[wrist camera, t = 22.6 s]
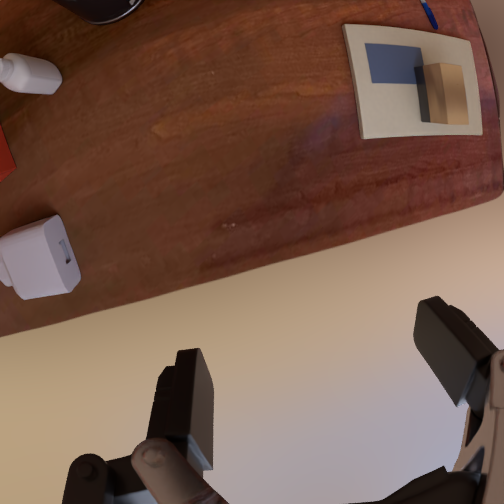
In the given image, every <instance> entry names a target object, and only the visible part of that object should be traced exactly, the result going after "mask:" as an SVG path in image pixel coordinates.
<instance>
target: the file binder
mask: <svg viewBox="0 0 504 504" xmlns="http://www.w3.org/2000/svg"><path fill="white" fill-rule="evenodd" d="M15 169H16V165H15V163H14V160H13V158H12V155H11V152H10V150H9V147H8V144H7V142H6V139H5V136H4V133H3V130H2V127H1V124H0V182H1V181H2V180H3V179H4V178H6V177H7V176H8V175H9V174H10V173H11V172H12V171H14V170H15Z"/></svg>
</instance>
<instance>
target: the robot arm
mask: <svg viewBox="0 0 504 504" xmlns="http://www.w3.org/2000/svg"><path fill="white" fill-rule="evenodd" d="M52 1H54V2H56V3H58V4H59V5H61V6H63V7H65V8H66V9H68V10H70V11H71V12H73V13H75V14H76V15H78V16H79V17H80V18H81V19H83V20H84V21H86V22H88V23H90V24H94V25H107V24H111V23H115V22H117V21H120V20H122V19H124V18H125V17H127V16H129V15H130V14H131V13H133V12H134V11H135V10H136V9H137V8H138V7H139V6H140V5H141V4H142V3H143V1H144V0H52ZM413 337H414V342H415V345H416V347H417V349H418V350H419V352H420V353H421V355H422V356H423V357H424V359H425V360H426V362H427V363H428V365H429V366H430V368H431V369H432V371H433V372H434V374H435V375H436V377H437V378H438V379H439V381H440V382H441V384H442V386H443V387H444V388H445V390H446V392H447V393H448V395H449V396H450V398H451V399H452V401H453V402H454V404H455V406H456V407H458V406H460V405H462V404H464V403H466V402H467V403H468V404H469V408H468V410H467V416H466V422H465V429H464V435H463V441H462V445H461V451H460V454H459V457H458V459H457V461H456V463H455V465H454V468H453V471H452V472H447V471H446V469H445V467H444V466H442V467H440V468H438V469H436V470H434V471H432V472H429V473H427V474H425V475H423V476H420V477H418V478H416V479H414V480H412V481H411V482H409V483H408V484H406V485H405V486H403V487H402V488H400V489H399V490H397V491H396V492H394V493H393V494H391V495H390V496H388V497H387V498H385V499H383V500H380V501H374V502H363V503H350V504H504V349H503V350H499V349H498V348H497V347H496V346H495V345H494V344H493V343H492V342H491V341H490V340H489V338H487V336H486V335H485V334H484V333H483V332H482V331H481V330H480V329H479V328H478V327H476V325H475V324H474V323H473V322H472V321H470V318H469V317H467V315H466V314H465V313H464V312H463V311H461V310H459V309H457V308H456V307H454V306H452V305H449V306H448V305H447V304H446V303H445V302H444V301H443V300H442V299H441V298H440V297H439V296H435V297H431V298H428V299H425V300H421V301H420V302H419V304H418V307H417V314H416V321H415V327H414V333H413ZM213 413H214V388H213V383H212V378H211V376H210V373H209V371H208V368H207V365H206V362H205V360H204V357H203V354H202V352H201V350H200V348H194V349H186V350H179V351H178V352H177V357H176V362H175V366H166V367H165V369H164V370H163V372H162V373H161V374H160V376H159V377H158V382H157V386H156V392H155V396H154V402H153V406H152V411H151V416H150V421H149V427H148V432H147V437H146V440H145V441H143V442H141V443H140V444H139V445H137V446H136V448H135V449H134V451H133V453H132V454H131V455H129V456H126V457H122V458H117V459H113V460H109V461H104V460H103V459H102V458H101V457H100V456H98V455H95V454H84V455H81V456H79V457H78V458H76V459H75V460H74V461H73V462H72V464H71V466H70V468H69V472H68V477H67V481H66V485H65V490H64V495H63V500H62V504H229V503H228V502H227V501H226V500H224V498H223V497H222V496H221V495H219V494H218V493H217V492H216V491H215V490H214V489H213V488H212V487H211V486H209V484H208V483H207V482H206V481H205V480H204V479H203V471H204V470H213Z"/></svg>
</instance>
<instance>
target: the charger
mask: <svg viewBox="0 0 504 504" xmlns="http://www.w3.org/2000/svg"><path fill="white" fill-rule="evenodd" d="M80 279H81V275H80V270H79V267H78V264H77V262H76V259H75V256H74V254H73V251H72V248H71V245H70V243H69V240H68V237H67V234H66V231H65V228H64V225H63V222H62V220H61V218H60V217H59V216H58V215H55V216H51V217H48V218H45V219H42V220H39V221H36V222H33V223H30V224H27V225H24V226H21V227H18V228H16V229H13V230H11V231H9V232H8V233H6V234H5V235H3V236H2V237H0V280H1V281H2V282H3V283H4V284H5V285H6V286H13V287H14V289H15V291H16V293H17V294H18V295H19V296H20V297H21V298H22V299H24V300H26V299H32V298H38V297H44V296H50V295H57V294H63V293H69V292H71V291H72V290H73V289H74V287H75V286H76V285H77V284H78V282H79V281H80Z"/></svg>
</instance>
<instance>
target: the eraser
mask: <svg viewBox="0 0 504 504" xmlns="http://www.w3.org/2000/svg"><path fill="white" fill-rule="evenodd" d="M414 72H415V77H416V84H417V90H418V97H419V105H420V113H421V122H427V123H438V124H447V125H469V119H468V108H467V99H466V91H465V84H464V78H463V71H462V66H460V65H453V64H447V63H434V64H429V65H423V66H418V67H414Z"/></svg>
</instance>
